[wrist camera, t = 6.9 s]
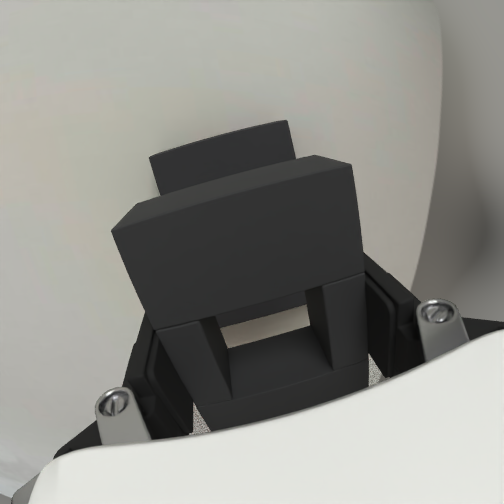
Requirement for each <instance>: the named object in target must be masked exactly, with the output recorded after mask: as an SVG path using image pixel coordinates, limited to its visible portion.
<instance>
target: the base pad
mask: <svg viewBox="0 0 504 504" xmlns="http://www.w3.org/2000/svg"><path fill="white" fill-rule="evenodd" d="M294 159H296V157H295V152H294V148H293V143H292V139H291V134H290V130H289V126H288V121H287V120H282V121H276V122H271V123H267V124H262V125H258V126H254V127H249V128H245V129H241V130H237V131H233V132H229V133H225V134H221V135H218V136H214V137H210V138H207V139H203V140H200V141H196V142H193V143H190V144H186V145H183V146H180V147H176V148H173V149H170V150H167V151H164V152H161V153H158V154H155V155H153V156H150V157H149V160H150V163H151V166H152V170H153V173H154V176H155V179H156V183H157V186H158V189H159V192H160V195H161V196H162V195H165V194H168V193H172V192H175V191H178V190H181V189H185V188H188V187H191V186H195V185H198V184H202V183H205V182H209V181H212V180H216V179H219V178H223V177H226V176H230V175H234V174H238V173H241V172H245V171H249V170H253V169H257V168H261V167H265V166H269V165H273V164H277V163H281V162H285V161H290V160H294ZM305 304H307V303H306V298H305V292H304V291H302V292H298V293H295V294H292V295H288V296H285V297H281V298H278V299H274V300H271V301H267V302H264V303H260V304H257V305H253V306H249V307H246V308H242V309H238V310H235V311H231V312H227V313H223V314H219V315H216V319H217V322H218V325H219V327H220V328H222V327H226V326H230V325H234V324H237V323H241V322H245V321H249V320H253V319H256V318H260V317H264V316H267V315H271V314H274V313H278V312H281V311H285V310H288V309H292V308H295V307H299V306H302V305H305Z"/></svg>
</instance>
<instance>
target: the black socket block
mask: <svg viewBox="0 0 504 504" xmlns="http://www.w3.org/2000/svg"><path fill="white" fill-rule="evenodd" d="M111 232H112V235H113V237H114V240H115V243H116V245H117V248H118V250H119V253H120V255H121V258H122V260H123V262H124V265H125V267H126V270H127V272H128V274H129V277H130V279H131V281H132V284H133V286H134V288H135V290H136V293H137V295H138V297H139V299H140V301H141V304H142V306H143V308H144V310H145V312H146V314H147V316H148V318H149V321H150V323H151V325H152V327H153V329H154V330H156V334H157V336H158V338H159V339H160V341H161V343H162V345H163V347H164V349H165V351H166V353H167V355H168V356H169V358H170V360H171V362H172V364H173V366H174V368H175V370H176V371H177V373H178V375H179V377H180V379H181V380H182V382H183V384H184V386H185V387H186V389H187V391H188V393H189V394H190V396H191V398H192V400H193V402H194V403H195V405H196V408H197V409H198V411H199V413H200V414H201V416H202V418H203V419H204V421H205V422H206V424H207V426H208V427H209V429H210V430H211V431H216V430H222V429H227V428H231V427H236V426H241V425H245V424H250V423H254V422H258V421H262V420H266V419H270V418H274V417H278V416H282V415H285V414H289V413H292V412H296V411H299V410H303V409H306V408H309V407H312V406H316V405H319V404H322V403H325V402H328V401H331V400H334V399H337V398H340V397H343V396H345V395H348V394H351V393H354V392H357V391H359V390H362V389H365V388H367V387H369V359H368V328H367V305H366V288H365V273H364V272H365V267H364V255H363V245H362V236H361V227H360V219H359V211H358V203H357V196H356V189H355V183H354V176H353V170H352V165H351V164H348V163H345V162H341V161H337V160H333V159H329V158H325V157H321V156H317V155H312V156H307V157H303V158H299V159H294V160H290V161H285V162H281V163H277V164H273V165H269V166H265V167H261V168H257V169H253V170H249V171H245V172H241V173H238V174H234V175H230V176H226V177H223V178H219V179H216V180H212V181H209V182H205V183H202V184H198V185H195V186H191V187H188V188H185V189H181V190H178V191H175V192H172V193H168V194H165V195H162V196H159V197H156V198H153V199H150V200H147V201H144V202H140V203H137V204H136V205H135V206H134V207H133V208H132V209H131V210H130V211H129V212H128V213H127V214H126V215H125V216H124V217H123V218H122V219H121V220H120V221H119V222H118V223H117V225H116V226H115V227H114V228H113V229H112V230H111ZM302 291H304V292H305V298H306V303H307V309H308V314H309V320H310V326H307V327H304V328H300V329H297V330H294V331H290V332H287V333H284V334H280V335H277V336H273V337H270V338H266V339H262V340H259V341H255V342H251V343H248V344H244V345H240V346H236V347H232V348H228V349H227V345H226V343H225V340H224V338H223V335H222V332H221V330H220V327H219V325H218V322H217V319H216V315H219V314H223V313H227V312H231V311H235V310H238V309H242V308H246V307H249V306H253V305H257V304H260V303H264V302H267V301H271V300H274V299H278V298H281V297H285V296H288V295H292V294H295V293H298V292H302Z"/></svg>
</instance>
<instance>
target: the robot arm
mask: <svg viewBox="0 0 504 504" xmlns="http://www.w3.org/2000/svg"><path fill="white" fill-rule="evenodd" d="M363 255H364V267H365V272H364V273H365V288H366V305H367V328H368V353H369V354H370V356H371V357H372V359H373V360H374V362H375V363H376V365H377V366H378V368H379V370H380V371H381V373H382V374H383V376H384V377H385V378H387V377H390V379H387V380H385V381H383V382H380V383H377V384H375V385H372V386H370V387H367V388H365V389H362V390H359V391H357V392H354V393H351V394H348V395H345V396H343V397H340V398H337V399H334V400H331V401H328V402H325V403H322V404H319V405H316V406H312V407H309V408H306V409H303V410H299V411H296V412H292V413H289V414H285V415H282V416H278V417H274V418H270V419H266V420H262V421H258V422H254V423H250V424H245V425H241V426H236V427H231V428H227V429H222V430H216V431H211V432H206V433H200V434H194V435H189V433H192V432H193V400H192V398H191V396H190V394H189V393H188V391H187V389H186V387H185V386H184V384H183V382H182V380H181V379H180V377H179V375H178V373H177V371H176V370H175V368H174V366H173V364H172V362H171V360H170V358H169V356H168V355H167V353H166V351H165V349H164V347H163V345H162V343H161V341H160V339H159V338H158V336H157V334H156V330H154V329H153V327H152V325H151V323H150V321H149V318H148V316H147V314H146V312H145V314H144V317H143V321H142V324H141V327H140V331H139V334H138V338H137V341H136V343H135V344H134V346H133V349H132V352H131V356H130V359H129V363H128V367H127V370H126V374H125V378H124V381H123V385H122V387H116V388H113V389H110V390H108V391H107V392H105V393H104V394H103V395H102V396H100V398H99V399H98V400H97V402H96V405H95V415H96V421H95V422H93V423H92V424H91V425H90V426H88V427H87V428H86V429H85V430H83V431H82V432H81V433H79V434H78V435H77V436H76V437H74V438H73V439H72V440H71V441H69V442H68V443H67V444H65V445H64V446H63V447H61V448H60V449H59V450H58V451H57V453H56V454H55V456H54V458H53V460H52V461H50V462H49V463H48V464H47V465H46V466H45V467H44V468H43V470H42V471H41V472H40V473H39V474H38V475H36V476H35V477H34V478H33V479H31V480H30V481H29V482H28V483H26V484H25V485H24V486H22V487H21V488H20V489H19V490H17V491H16V492H15V493H14V495H13V497H12V500H11V504H504V322H499V321H490V320H481V319H471V318H463V317H461V315H460V313H459V310H458V308H457V307H456V305H455V304H453V303H452V302H450V301H448V300H445V299H429V300H426V301H424V302H422V303H421V302H420V301H419V300H418V299H417V298H416V297H415V296H414V295H413V294H412V293H411V292H410V291H409V290H407V289H406V288H405V287H404V286H403V285H402V284H401V283H400V282H399V281H398V280H396V279H395V278H394V277H393V276H392V275H391V274H389V273H387V272H386V271H384V270H383V269H382V268H381V267H380V266H379V265H378V264H377V263H375V262H374V261H373V260H372V259H371V258H370V257H369V256H367V255H366V254H365V253H364V252H363Z"/></svg>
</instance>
